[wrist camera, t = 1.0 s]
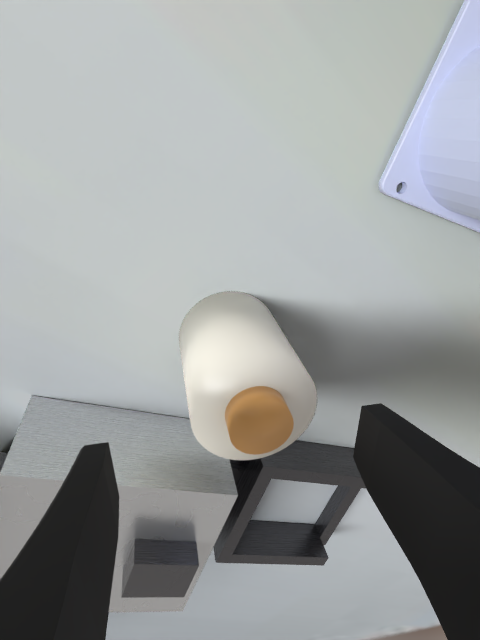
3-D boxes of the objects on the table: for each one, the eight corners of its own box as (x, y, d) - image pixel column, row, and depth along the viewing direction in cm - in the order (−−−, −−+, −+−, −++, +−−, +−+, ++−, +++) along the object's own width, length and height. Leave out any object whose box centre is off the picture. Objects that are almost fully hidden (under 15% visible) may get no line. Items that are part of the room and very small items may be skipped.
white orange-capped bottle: (289, 304, 21) (349, 385, 14) (254, 383, 22) (295, 484, 16) (196, 279, 19) (219, 359, 13) (167, 367, 21) (175, 473, 15)
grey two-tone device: (373, 445, 27) (430, 530, 21) (317, 536, 30) (354, 629, 25) (4, 391, 19) (-50, 498, 14) (-16, 518, 23) (-66, 645, 17)
